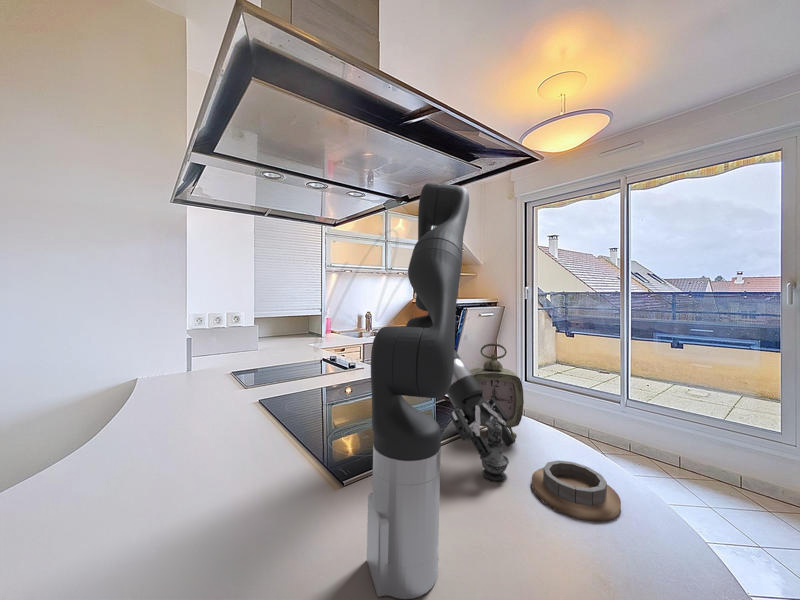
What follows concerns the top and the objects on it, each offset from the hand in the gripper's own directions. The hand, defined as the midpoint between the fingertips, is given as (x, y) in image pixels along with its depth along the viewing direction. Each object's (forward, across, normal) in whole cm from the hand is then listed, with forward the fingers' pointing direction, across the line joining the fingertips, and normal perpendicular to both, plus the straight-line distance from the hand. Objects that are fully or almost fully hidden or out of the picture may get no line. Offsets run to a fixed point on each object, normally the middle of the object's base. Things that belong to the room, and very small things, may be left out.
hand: (500, 450), depth 66 cm
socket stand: (+12, +7, -4) cm, 15 cm away
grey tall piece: (+3, 0, +5) cm, 6 cm away
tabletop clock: (-6, +17, +14) cm, 23 cm away
